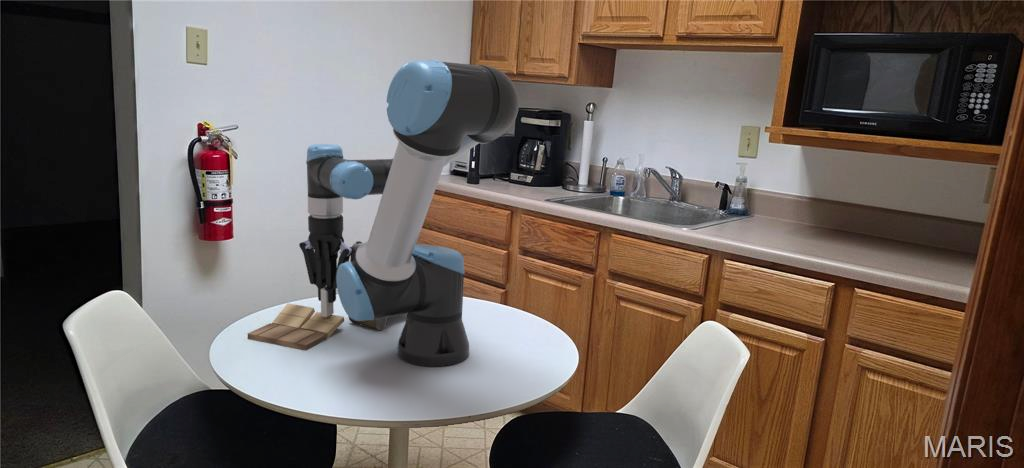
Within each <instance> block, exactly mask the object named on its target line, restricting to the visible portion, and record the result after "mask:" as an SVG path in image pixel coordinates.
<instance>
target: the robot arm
mask: <svg viewBox="0 0 1024 468" xmlns="http://www.w3.org/2000/svg"><path fill="white" fill-rule="evenodd" d="M519 99H520V98H519V95H518V91H517V88H516V86H515V84H514V82H513V81H512V80H511V79H510V77H509V76H508V75H507V74H505V72H503V71H501V70H500V69H498V68H495V67H493V66H490V65H484V64H483V65H482V64H481V65H480V64H479V65H478V64H469V63H456V62H448V61H441V60H437V59H428V60H412V61H410V62H408V63H405V64H404V65H402V66H401V67H400V68H399V69H398V70H397V71H396V73H395V74H394V75H393V77H392V79H391V81H390V84H389V86H388V90H387V96H386V103H387V104H388V105H387V107H386V115H387V119H388V122H389V123H390V126H391V127H392V131H393V135H394V137H395V138H396V139H397V141H398V143H397V146H396V149H395V152H394V156H393V157H392V158H386V159H385V158H382V159H381V158H379V159H378V158H376V159H346V158H344V154H343V148H342V147H341V146H340V145H337V144H328V143H324V144H323V143H321V144H320V143H318V144H317V143H315V144H311V145H309V146H308V147H307V150H306V161H305V164H306V176H307V177H306V178H307V183H306V184H307V213H308V214H309V216H308V217H307V218H308V219H307V220H308V221H307V223H308V232H309V234H308V238H307V240H305V241H302V242H300V243H299V248H300V250H301V252H302V254H303V258H304V263H305V266H306V271H307V275H308V280H309V284H311V285H314V286H316V288H317V299H318V301H320V313H321V316H323V317H328V316H330V315H334V312H335V311H334V310H335V309H334V302H336V301H337V294H338V297H339V301H340V303H341V307H342V308H343V310H344V311H345V314H346V315H347V316H348V317H350V318H351V319H353V320H355V321H366V320H371V321H372V320H374V319H379V318H384V317H387V318H389V317H394V316H398V315H399V316H400V315H403V314H404V315H405V314H406V320H405V323H404V326H403V328H402V330H401V334H400V336H399V339H398V342H397V356H398V357H399V358H400V359H401V360H403V361H404V362H407V363H409V364H413V365H417V366H423V367H446V366H451V365H455V364H458V363H462V362H463V361H464V360H467V358H468V357H469V354H470V343H469V342H470V341H469V339H468V335H467V333H466V332H467V331H466V328H465V325H464V322H463V304H464V303H463V302H464V300H463V299H464V278H465V274H466V271H465V258H464V256H463V255H462V253H460V252H459V251H457V250H455V249H453V248H449V247H445V246H444V247H443V246H438V245H430V244H417V242H418V239H419V236H420V234H421V231H422V228H423V225H424V223H425V220H426V217H427V214H428V212H429V208H430V206H431V203H432V201H433V200H432V199H433V197H434V194H435V192H436V190H437V187H438V183H439V181H440V178H441V175H442V172H443V169H444V167H446V166H447V165H449V164H450V163H451V162H453V161H454V160H456V159H457V158H460V157H461V156H462V155H464V154H465V153H467V152H468V151H470V150H471V149H473V148H474V147H476V146H477V145H478V144H481V145H484V144H489V143H491V142H493V141H495V140H496V139H498V138H499V137H501V136H502V135H504V134H505V133H506V132H507V131H508V130H510V129H511V127H512V126H513V124H514V123H515V121H516V119H517V115H518V112H519V108H520V100H519ZM376 195H378V196H379V195H382V196H381V198H380V200H379V201H380V202H379V204H378V207H377V211H376V215H375V217H374V220H373V224H372V227H371V231H370V234H369V237H368V240H367V241H365V242H362V243H363V244H361V245H360V246H359V247H358V249H357V251H356V254H355V257H354V261H352V262H350V258H351V254H352V252H353V250H354V249H353V247H352V246H348V245H347V244H346V243H345V240H344V237H343V232H344V216H343V215H342V214H343V213H344V199H350V200H360V199H363V198H365V197H366V196H376ZM339 254H340V255H339ZM338 257H339V258H338Z"/></svg>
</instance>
